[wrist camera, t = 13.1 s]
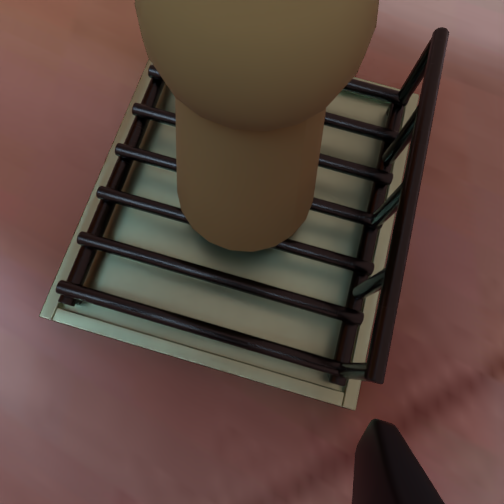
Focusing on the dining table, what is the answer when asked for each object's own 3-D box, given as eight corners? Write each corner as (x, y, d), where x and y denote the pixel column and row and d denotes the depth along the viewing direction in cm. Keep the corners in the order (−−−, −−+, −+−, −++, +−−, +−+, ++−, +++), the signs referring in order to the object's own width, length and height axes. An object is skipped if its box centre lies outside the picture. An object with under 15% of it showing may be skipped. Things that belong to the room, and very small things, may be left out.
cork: (157, 152, 18) (48, -144, 8) (279, 108, 19) (336, -213, 8) (207, 273, 17) (160, 121, 6) (337, 220, 18) (491, 7, 7)
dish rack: (348, 408, 18) (405, 431, 12) (50, 319, 19) (-40, 298, 12) (410, 108, 22) (476, 12, 16) (166, 42, 23) (141, -75, 17)
